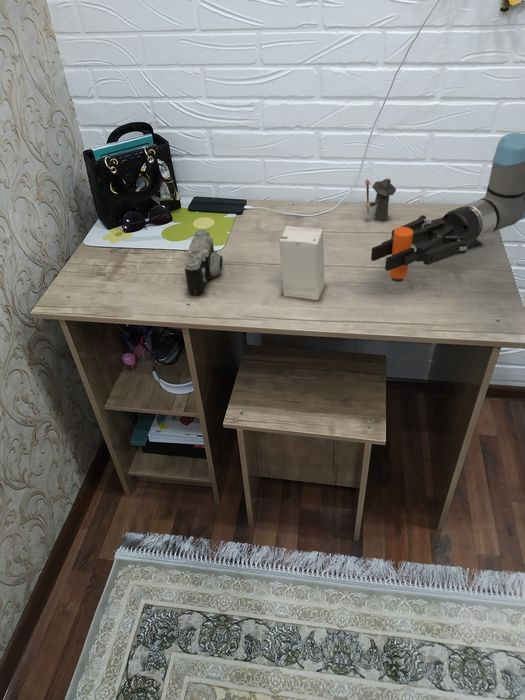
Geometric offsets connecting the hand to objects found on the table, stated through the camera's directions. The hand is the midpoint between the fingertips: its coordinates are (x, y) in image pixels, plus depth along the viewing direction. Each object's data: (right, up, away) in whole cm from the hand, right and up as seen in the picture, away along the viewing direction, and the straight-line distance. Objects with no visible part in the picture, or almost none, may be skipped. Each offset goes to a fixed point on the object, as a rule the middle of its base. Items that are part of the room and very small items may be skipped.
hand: (379, 259), depth 111 cm
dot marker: (+5, -3, +6) cm, 9 cm away
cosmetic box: (-14, -5, +16) cm, 22 cm away
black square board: (+20, +10, +29) cm, 37 cm away
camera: (-36, -1, +21) cm, 42 cm away
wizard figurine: (+7, +16, +37) cm, 41 cm away
